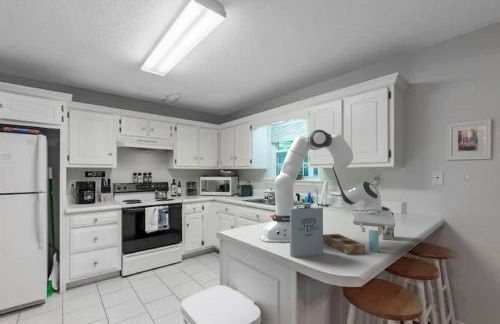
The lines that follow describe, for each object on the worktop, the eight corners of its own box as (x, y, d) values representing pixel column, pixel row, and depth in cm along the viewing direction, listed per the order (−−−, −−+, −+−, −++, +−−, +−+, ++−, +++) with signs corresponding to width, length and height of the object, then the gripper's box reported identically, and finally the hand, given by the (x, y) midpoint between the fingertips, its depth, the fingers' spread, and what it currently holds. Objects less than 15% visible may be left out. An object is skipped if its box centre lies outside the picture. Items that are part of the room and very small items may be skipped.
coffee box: (394, 240, 139) (394, 212, 140) (382, 239, 140) (382, 212, 141) (388, 236, 148) (388, 210, 149) (377, 235, 149) (377, 210, 150)
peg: (373, 252, 116) (373, 232, 116) (367, 249, 120) (366, 230, 121) (380, 252, 117) (380, 232, 117) (374, 249, 121) (374, 229, 122)
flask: (293, 258, 108) (293, 203, 109) (288, 254, 112) (288, 202, 113) (325, 254, 113) (325, 202, 114) (320, 251, 117) (319, 201, 119)
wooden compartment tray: (347, 254, 113) (347, 246, 113) (323, 241, 134) (323, 234, 134) (364, 253, 115) (364, 245, 115) (338, 240, 137) (338, 233, 137)
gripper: (352, 206, 134) (351, 226, 125) (394, 208, 125) (396, 231, 116) (353, 213, 138) (352, 233, 129) (393, 216, 129) (395, 238, 119)
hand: (373, 232), depth 122 cm, fingers open, 8 cm apart
